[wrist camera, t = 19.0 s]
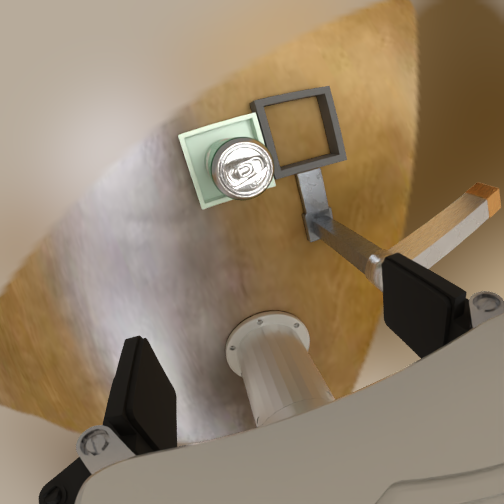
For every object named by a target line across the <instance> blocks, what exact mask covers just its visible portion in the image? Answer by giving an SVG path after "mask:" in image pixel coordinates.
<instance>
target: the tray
mask: <svg viewBox="0 0 504 504" xmlns="http://www.w3.org/2000/svg"><path fill="white" fill-rule="evenodd" d="M178 137H179V140H180V143H181V146H182V149H183V153H184V156H185V159H186V162H187V165H188V168H189V171H190V174H191V178H192V181H193V184H194V187H195V190H196V193H197V196H198V199H199V202H200V205H201V208H202V210H203V209H206V208H209V207H211V206H214V205H217V204H220V203H224V202H227V201H230V200H233V199H231V198H229V197H227V196H225V195H224V194H222V193H221V192H220V191H219V190H218V189H217V188H216V186H215V184H214V183H213V181H212V179H211V178H210V176H209V174H208V173H207V171H206V168H205V164H204V158H205V154H206V152H207V150H208V148H209V147H210V146H211V145H212V144H213V143H214V142H216V141H218V140H221V139H225V138H234V137H250V138H253V139H256V140H258V141H260V142H261V143H263V144H264V140H263V137H262V133H261V129H260V126H259V122H258V119H257V115H256V112H255V113H251V114H247V115H243V116H239V117H236V118H232V119H228V120H225V121H221V122H218V123H215V124H211V125H208V126H205V127H201V128H198V129H195V130H192V131H189V132H186V133H183V134H180V135H178ZM264 145H265V144H264ZM274 186H276V184H275V181H274V177H273V179H272V181H271V183H270V185H269V186H268V188H271V187H274ZM268 188H267V189H268Z"/></svg>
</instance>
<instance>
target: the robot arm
mask: <svg viewBox="0 0 504 504" xmlns="http://www.w3.org/2000/svg"><path fill="white" fill-rule="evenodd" d="M382 282H383V304H384V321H385V323H386V325H387V326H388V327H389V328H390V329H391V330H392V331H393V332H394V333H395V334H397V336H399V337H400V338H401V339H402V340H403V341H404V342H405V343H406V344H407V345H408V346H409V347H410V348H411V349H412V350H413V351H414V352H415V353H416V354H417V355H418V356H419V357H420V358H421V359H420V360H418V361H416V362H414V363H413V364H411V365H409V366H407V367H405V368H403V369H401V370H399V371H397V372H395V373H393V374H391V375H389V376H387V377H385V378H383V379H381V380H379V381H377V382H375V383H373V384H370V385H368V386H366V387H364V388H362V389H359V390H357V391H355V392H353V393H350V394H348V395H346V396H343V397H341V398H338V399H336V400H335V399H334V397H333V395H332V394H331V392H330V390H329V388H328V387H327V385H326V383H325V381H324V380H323V378H322V376H321V374H320V373H319V371H318V369H317V367H316V365H315V364H314V362H313V360H312V358H311V357H310V355H309V353H308V349H309V344H310V336H309V333H308V330H307V328H306V327H305V325H304V324H303V322H302V321H301V320H300V319H299V318H297V317H296V316H294V315H292V314H289V313H286V312H281V311H269V312H263V313H259V314H256V315H254V316H252V317H250V318H247V319H246V320H244V321H243V322H242V323H240V324H239V325H238V326H237V327H236V328H235V329H234V330H233V332H232V333H231V334H230V336H229V338H228V340H227V343H226V348H225V350H226V358H227V362H228V364H229V366H230V368H231V369H232V370H233V371H234V372H235V373H236V374H237V375H239V376H241V377H243V380H244V384H245V387H246V391H247V395H248V398H249V402H250V405H251V409H252V412H253V416H254V419H255V423H256V426H257V427H256V428H253V429H250V430H246V431H243V432H239V433H235V434H231V435H227V436H224V437H219V438H215V439H211V440H207V441H203V442H198V443H193V444H189V445H184V446H179V447H177V420H176V393H175V390H174V388H173V386H172V384H171V383H170V381H169V379H168V377H167V376H166V374H165V372H164V370H163V368H162V367H161V365H160V363H159V361H158V359H157V357H156V355H155V353H154V351H153V350H152V348H151V346H150V344H149V342H148V340H147V339H146V338H144V339H142V337H141V336H136V337H132V338H129V339H126V340H125V342H124V346H123V349H122V353H121V356H120V360H119V364H118V368H117V371H116V375H115V377H114V379H113V383H112V387H111V391H110V395H109V399H108V403H107V408H106V412H105V417H104V421H103V425H98V426H94V427H91V428H89V429H87V430H86V431H85V432H83V433H82V434H81V436H80V437H79V439H78V441H77V444H76V450H77V453H78V455H79V458H78V459H76V460H75V461H74V462H73V463H72V464H70V465H69V466H68V467H67V468H65V469H64V470H63V471H62V472H61V473H59V474H58V475H57V476H56V477H54V478H53V479H52V480H51V481H49V482H48V483H47V484H46V485H45V486H44V487H43V488H42V490H41V492H40V495H39V504H504V301H503V299H502V298H501V297H500V296H499V295H497V294H495V293H492V292H486V291H484V292H478V293H475V294H474V295H472V296H471V297H470V299H469V300H468V299H466V291H464V290H463V289H461V288H459V287H458V286H456V285H454V284H453V283H451V282H449V281H447V280H446V279H444V278H442V277H441V276H439V275H437V274H436V273H434V272H432V271H431V270H429V269H427V268H425V267H424V266H422V265H420V264H418V263H416V262H415V261H413V260H411V259H409V258H408V257H406V256H404V255H402V254H400V253H395V254H392V255H389V256H387V257H385V259H384V262H382Z"/></svg>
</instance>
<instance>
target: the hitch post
mask: <svg viewBox="0 0 504 504" xmlns="http://www.w3.org/2000/svg"><path fill="white" fill-rule="evenodd" d="M295 176H296V181H297V185H298V189H299V193H300V197H301V202H302V206H303V210H304V213H303V214H302V216H303V221H304V225H305V230H306V234H307V239H308V240H309V241H310V242H313V241H316V240H318V239H321V240H323V241H324V242H325V243H327V244H328V245H329V246H330V247H332V248H333V249H334V250H335V251H337V252H338V253H339V254H340V255H342V256H343V257H344V258H345V259H347V260H348V261H349V262H350V263H352V264H353V265H354V266H355V267H356V268H358V269H359V270H360V271H361V272H363V273H364V274H365V266H366V263H367V261H368V259H369V258H370V256H371V255H372V254H373V253H375V252H376V251H378V250H382V249H381V248H380V247H378V246H376V245H375V244H373V243H372V242H370V241H368V240H367V239H365V238H363V237H362V236H360V235H359V234H357V233H355V232H354V231H352V230H350V229H349V228H347V227H345V226H344V225H342V224H340V223H339V222H337V221H335V220H334V219H333V217H332V211H331V207H329V206H328V202H327V197H326V193H325V188H324V183H323V178H322V174H321V169H320V168H314V169H311V170H307V171H304V172H300V173H296V174H295Z"/></svg>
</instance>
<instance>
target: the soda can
mask: <svg viewBox="0 0 504 504" xmlns="http://www.w3.org/2000/svg"><path fill="white" fill-rule="evenodd" d="M204 164H205V168H206V171H207V173H208V174H209V176H210V178H211V179H212V181H213V183H214V184H215V186H216V188H217V189H218V190H219V191H220V192H221V193H222V194H224V195H225V196H227V197H229V198H231V199H235V200H249V199H252V198H255V197H257V196H259V195H260V194H262V193H263V192H264V191H265V190H266V189H267V188H268V186H269V185H270V183H271V181H272V179H273V176H274V160H273V157H272V155H271V153H270V151H269V150H268V148H267V147H266V146H265V145H264V144H263V143H261V142H260V141H258V140H256V139H253V138H250V137H234V138H225V139H221V140H218V141H216V142H214V143H213V144H212V145H211V146H210V147H209V148H208V150H207V152H206V154H205V158H204Z"/></svg>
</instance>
